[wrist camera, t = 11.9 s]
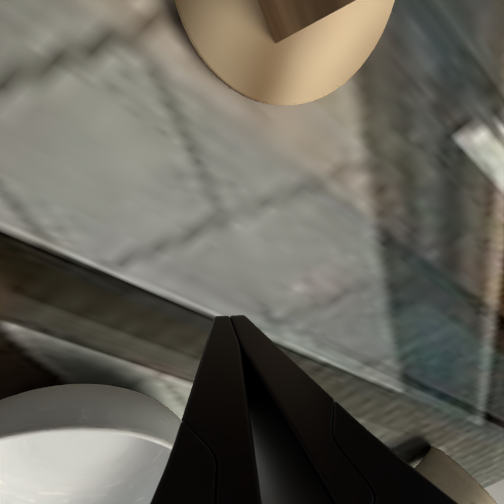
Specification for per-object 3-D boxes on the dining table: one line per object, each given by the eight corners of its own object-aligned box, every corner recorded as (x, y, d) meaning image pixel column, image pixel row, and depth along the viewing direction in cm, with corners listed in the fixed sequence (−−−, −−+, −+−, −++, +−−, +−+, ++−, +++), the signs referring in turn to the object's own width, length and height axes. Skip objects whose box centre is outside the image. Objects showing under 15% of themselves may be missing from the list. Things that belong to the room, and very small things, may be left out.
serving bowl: (-129, 443, 22) (-238, 567, 17) (86, 299, 21) (51, 377, 15) (84, 511, 33) (64, 602, 27) (237, 418, 32) (252, 492, 26)
